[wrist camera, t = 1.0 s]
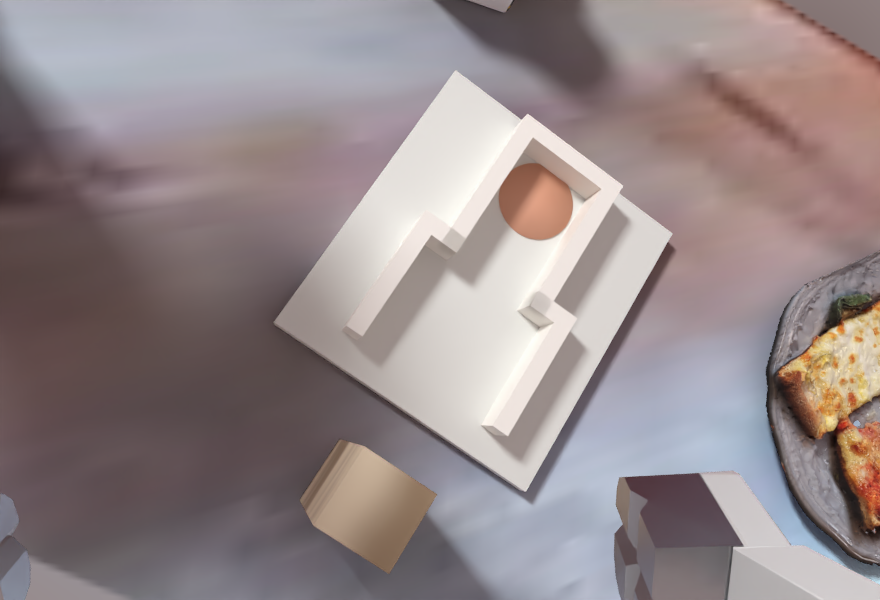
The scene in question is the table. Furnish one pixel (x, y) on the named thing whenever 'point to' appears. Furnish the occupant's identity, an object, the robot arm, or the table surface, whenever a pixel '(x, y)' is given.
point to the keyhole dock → (479, 280)
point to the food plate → (832, 404)
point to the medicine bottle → (495, 4)
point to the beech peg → (366, 503)
